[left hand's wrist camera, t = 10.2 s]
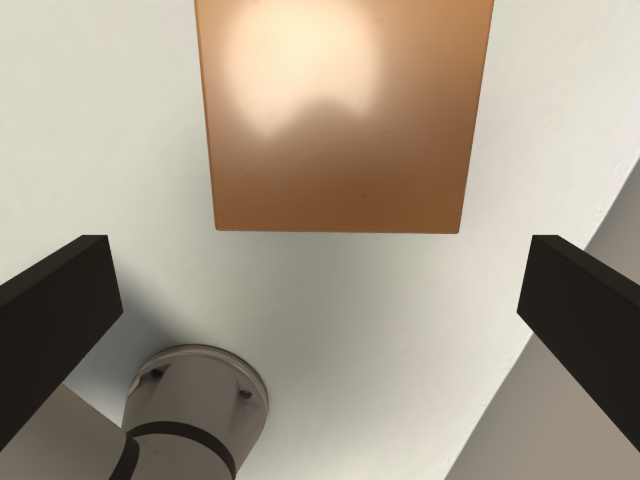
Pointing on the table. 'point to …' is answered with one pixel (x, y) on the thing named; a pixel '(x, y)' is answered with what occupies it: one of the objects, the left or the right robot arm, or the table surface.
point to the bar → (341, 112)
